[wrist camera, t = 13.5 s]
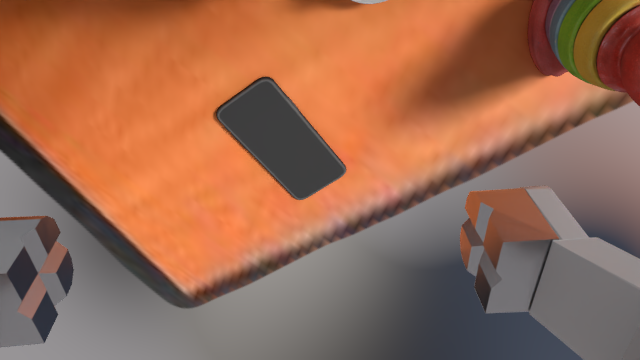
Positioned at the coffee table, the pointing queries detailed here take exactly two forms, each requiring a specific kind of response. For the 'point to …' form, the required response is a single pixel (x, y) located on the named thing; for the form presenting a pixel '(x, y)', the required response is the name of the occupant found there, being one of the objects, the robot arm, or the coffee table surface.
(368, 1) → the wall hook
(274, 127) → the smartphone
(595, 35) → the stacking bear
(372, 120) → the coffee table surface
